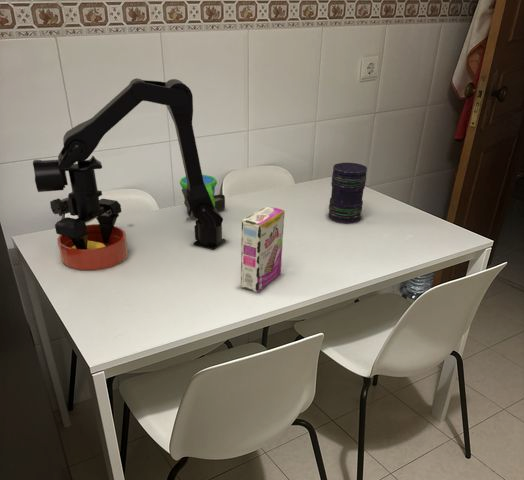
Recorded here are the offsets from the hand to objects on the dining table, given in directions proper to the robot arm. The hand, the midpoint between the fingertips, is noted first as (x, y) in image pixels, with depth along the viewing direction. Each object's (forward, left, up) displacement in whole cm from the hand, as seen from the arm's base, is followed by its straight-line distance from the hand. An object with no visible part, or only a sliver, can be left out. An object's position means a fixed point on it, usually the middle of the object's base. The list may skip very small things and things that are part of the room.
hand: (95, 249), depth 132 cm
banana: (0, -1, -1) cm, 1 cm away
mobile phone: (-9, -38, +1) cm, 39 cm away
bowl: (0, 0, -2) cm, 2 cm away
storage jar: (-47, -57, -2) cm, 74 cm away
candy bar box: (-43, -8, -2) cm, 44 cm away
